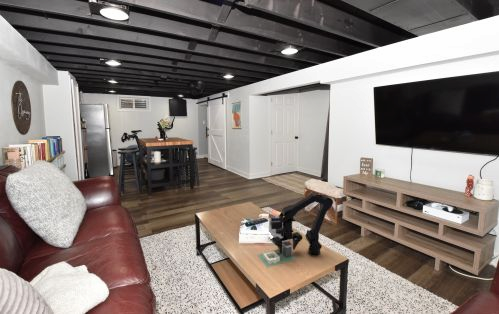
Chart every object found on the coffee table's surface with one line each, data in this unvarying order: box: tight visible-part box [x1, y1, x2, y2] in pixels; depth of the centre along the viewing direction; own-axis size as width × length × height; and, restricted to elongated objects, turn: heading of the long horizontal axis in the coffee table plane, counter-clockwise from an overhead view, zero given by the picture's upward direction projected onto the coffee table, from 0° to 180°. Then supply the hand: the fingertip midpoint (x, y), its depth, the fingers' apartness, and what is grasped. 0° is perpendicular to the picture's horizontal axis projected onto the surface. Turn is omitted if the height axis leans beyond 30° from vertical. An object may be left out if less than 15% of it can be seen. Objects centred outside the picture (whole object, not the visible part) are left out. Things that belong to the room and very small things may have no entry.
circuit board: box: [257, 247, 297, 268], centre depth 146 cm, size 20×14×4 cm
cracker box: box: [268, 209, 291, 244], centre depth 166 cm, size 14×6×21 cm, turn 51°
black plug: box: [282, 241, 293, 258], centre depth 148 cm, size 4×4×8 cm
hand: (287, 251), depth 148 cm, fingers open, 9 cm apart
